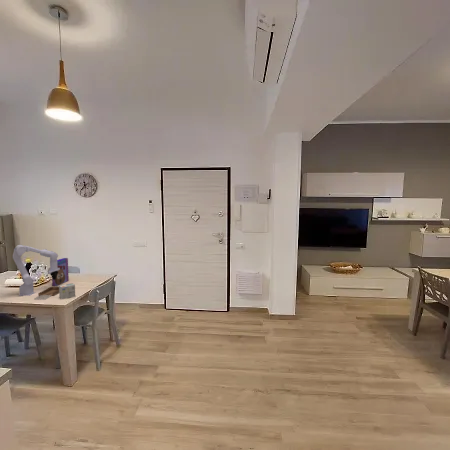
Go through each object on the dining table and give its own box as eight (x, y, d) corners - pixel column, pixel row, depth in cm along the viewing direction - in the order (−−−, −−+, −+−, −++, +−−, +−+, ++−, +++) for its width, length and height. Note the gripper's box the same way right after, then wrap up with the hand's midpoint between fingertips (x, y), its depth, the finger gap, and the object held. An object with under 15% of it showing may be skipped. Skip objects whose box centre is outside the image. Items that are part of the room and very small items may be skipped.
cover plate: (34, 300, 217) (34, 298, 217) (40, 297, 225) (40, 295, 225) (45, 300, 217) (45, 298, 217) (51, 297, 225) (51, 295, 225)
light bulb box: (72, 294, 231) (72, 282, 230) (75, 296, 227) (75, 284, 226) (58, 298, 223) (58, 285, 222) (61, 299, 218) (61, 287, 217)
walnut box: (38, 296, 225) (38, 293, 225) (51, 290, 242) (51, 286, 242) (53, 296, 225) (53, 293, 225) (65, 290, 242) (65, 286, 242)
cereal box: (57, 286, 253) (56, 261, 251) (52, 286, 253) (51, 261, 251) (68, 280, 270) (67, 258, 268) (64, 280, 270) (63, 257, 268)
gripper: (53, 267, 235) (53, 281, 236) (62, 263, 249) (63, 277, 250) (45, 266, 235) (45, 281, 236) (55, 263, 249) (55, 277, 250)
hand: (54, 279), depth 243 cm, fingers closed
